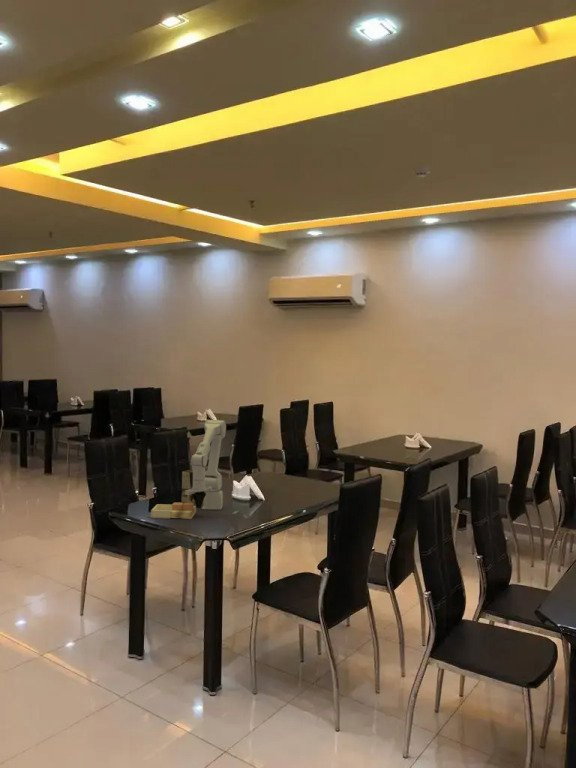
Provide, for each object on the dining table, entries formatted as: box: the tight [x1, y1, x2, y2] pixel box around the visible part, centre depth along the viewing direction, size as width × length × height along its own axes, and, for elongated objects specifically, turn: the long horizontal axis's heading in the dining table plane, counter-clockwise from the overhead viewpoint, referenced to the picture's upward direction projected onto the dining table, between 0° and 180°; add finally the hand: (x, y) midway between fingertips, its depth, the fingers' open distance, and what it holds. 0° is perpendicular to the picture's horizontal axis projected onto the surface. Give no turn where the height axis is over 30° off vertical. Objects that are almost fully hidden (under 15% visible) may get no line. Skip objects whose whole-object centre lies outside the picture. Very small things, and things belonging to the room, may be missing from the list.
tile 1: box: [171, 502, 185, 510], centre depth 295 cm, size 4×4×2 cm
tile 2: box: [183, 502, 195, 510], centre depth 295 cm, size 4×4×2 cm
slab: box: [169, 505, 197, 520], centre depth 295 cm, size 10×13×3 cm
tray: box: [150, 503, 172, 519], centre depth 295 cm, size 9×13×4 cm
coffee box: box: [181, 469, 195, 503], centre depth 324 cm, size 9×6×16 cm
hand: (198, 507), depth 295 cm, fingers closed
